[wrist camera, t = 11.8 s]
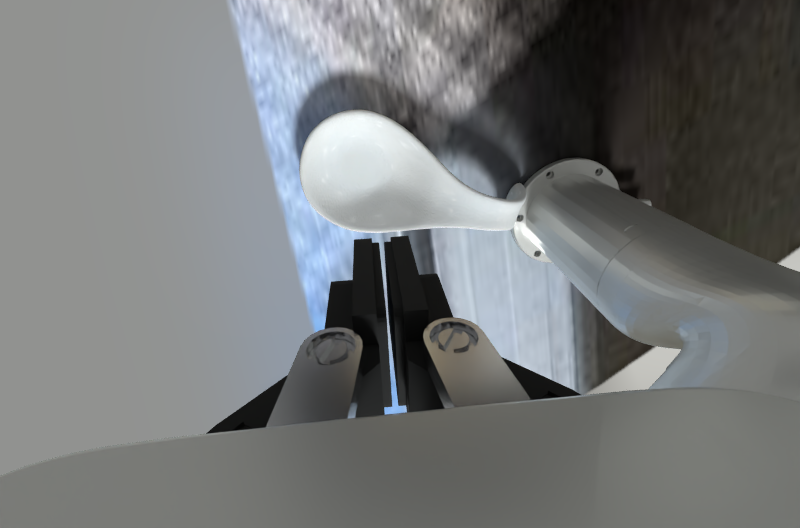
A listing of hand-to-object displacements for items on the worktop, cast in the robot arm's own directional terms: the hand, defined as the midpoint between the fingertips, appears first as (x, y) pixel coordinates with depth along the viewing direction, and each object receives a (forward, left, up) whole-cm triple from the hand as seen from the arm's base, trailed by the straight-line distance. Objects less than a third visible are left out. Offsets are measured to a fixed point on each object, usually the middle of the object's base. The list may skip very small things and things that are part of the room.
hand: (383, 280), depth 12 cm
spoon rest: (-5, +5, -30) cm, 30 cm away
